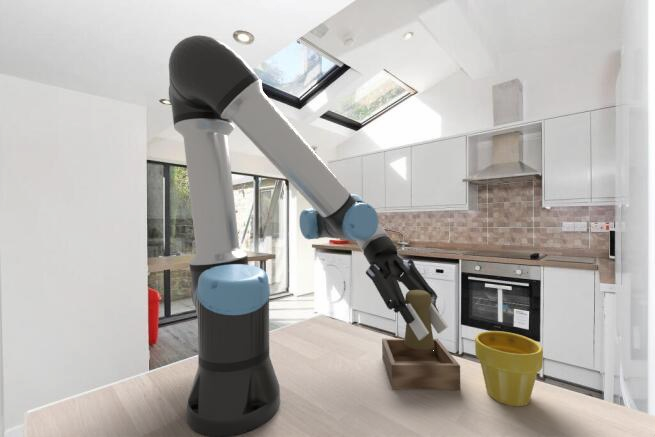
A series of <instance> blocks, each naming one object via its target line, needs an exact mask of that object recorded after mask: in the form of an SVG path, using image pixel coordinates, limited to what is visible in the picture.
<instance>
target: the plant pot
mask: <svg viewBox="0 0 655 437" xmlns="http://www.w3.org/2000/svg"><path fill="white" fill-rule="evenodd" d="M474 349H475V357H476V358H477V359H478V360H479V362H480V367H481V371H482V375H483V380H484V385H485V389H486V392H487V394H488V395H489V397H491V398H492V399H493V400H494V401H497V402H498V403H500V404H503V405H507V406H511V407H525V406H526V405H528V404H529V403H530V402H531V401H530V400H531V397H532V393H533V389H534V385H535V382H536V379H537V375H538V373H539V372H540V371H541V370H542V368H543V364H544V362H543V361H544V359H543V358H544V354H543V353H544V351H543V350H544V349H543V347H542V345H541V344H540V343H538V341H536V340H534V339H532V338H529V337H527V336H524V335H521V334H518V333H512V332H508V331H499V330H487V331H482V332H480V333H477V334H476V335H475V337H474Z"/></svg>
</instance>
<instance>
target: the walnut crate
mask: <svg viewBox="0 0 655 437" xmlns="http://www.w3.org/2000/svg"><path fill="white" fill-rule="evenodd" d="M404 340H405V338H381V342H382V343H381V345H382V346H381V347H382V348H381V350H382V352H381V353H382V354H381V355H382V357H381V358H382V361H383V364H384V368H385V371H386V374H387V377H388V382H389V383H390V387H391V389H392V390H426V391H427V390H431V391H432V390H434V391H435V390H449V391H453V390H454V391H461V365H460V363H458V361H457V360H456V359H455V357H454V356H453V355H452V353H451V352H450V351H449V350H448V349H447V348H446V347H445V346H444V344H443V343H442V342H441V341H440V340H439V338H433V341H434V347H433V348H431V349H427V350H418V349H413V348H410V347H408V346H406V345H405V344H404ZM433 350H434V351H433Z"/></svg>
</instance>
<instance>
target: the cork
mask: <svg viewBox="0 0 655 437" xmlns="http://www.w3.org/2000/svg"><path fill="white" fill-rule="evenodd" d="M404 298H405V301H406V305H407V304H411V305H412V307H413V308H414V310H415V311H416V313H417V315H418V316H419V318H420V319H421V321H422V322H423V324H424V325H425V327H426V329H427V330H428V332H429V334H427V335H426V336H425V337H424V338H423V339H422V340H418V338H417V337H416V335H415V333H414V332H413V330H412V328H411V327H410V325H409V324H407V323H406V322H405V323H406V325H405V334H404V339H405V340H404V344H405V345H406V346H408V347H410V348H413V349H418V350H427V349H431V348H433V347H434V341H433V339H434V337H433V336H434V335H433V328H432V327H433V326H432V324H431V321H430V314H429V306H430V305H431V301H432V297H431V296H430V294H429V293H428V292H426V291H423V290H411V291H409V290H408V291H407V292H406V293H405V296H404Z"/></svg>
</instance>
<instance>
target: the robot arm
mask: <svg viewBox="0 0 655 437" xmlns="http://www.w3.org/2000/svg"><path fill="white" fill-rule="evenodd" d="M168 60H169V61H168V73H169V86H168V99H169V103H170V104H171V112H172V121H173V128H174V130H175V131H176V132H177V133H179V134H180V135H181V136H182V138H183V144H184V146H183V147H184V153H185V154H184V155H185V161H186V171H187V173H186V174H187V179H188V189H189V198H190V207H191V208H190V209H191V215H192V224H193V235H194V244H195V255H194V256H193V257H191V259H190V260H189V270H190V281H191V291H190V295H191V300H192V303H193V306H194V309H195V312H196V316H197V335H198V336H197V342H198V343H197V344H198V345H197V347H198V348H197V350H198V352H197V353H198V360H197V361H198V364H197V365H198V366H197V370H196V373H195V376H194V380H193V383H192V385H191V390H190V392H189V395H188V399H187V402H186V420H187V423H188V425H189V426H190V428H191V429H192V430H193V431H195V432H197V433H198V434H201V435H205V436H211V437H229V436H236V435H239V434H243V433H246V432H249V431H252V430H254V429H256V428H258V427H260V426H262V425H263V424H264V423H266V422H267V421H268V420H270V419H271V418H272V417H273V416H274V415H275V414H276V412H277V410H278V409H279V407H280V404H281V388H280V384H279V381H278V378H277V375H276V372H275V371H276V370H275V369H274V366H273V363H272V360H271V357H270V294H271V287H270V284H269V276H268V274H267V273H266V271H265V270H264V269H262V268H260V267H257V266H254V265H252V266H251V265H249V259H248V258H249V256H248V253H247V252H245V251H244V250H243V249H241V247H240V242H239V232H238V222H237V214H236V204H235V203H236V202H235V196H234V195H235V194H234V186H233V176H232V166H231V158H230V148H229V139H228V137H229V135H230V134H231V133H232V132H233V131H234V129H235V125H236V127H237V128H239V129H240V131H241V132H242V133H243V134H244V135H245V136H246V137H247V138H248V139H249V141H251V142H252V144H253V145H254V146H255V147H256V148H257V149H258V150H259V151H260V152H261V153H262V154H263V155H264V156H265V157H266V159H267V160H268V161H269V162H270V164H272V165H273V166H274V167H275V168H276V169H277V170H278V172H280V174H282V175H283V177H285V179H286V180H287V181H288V182H289V183H290V184H291V185H292V186H293V187H294V188H295V189H296V191H298V193H299V194H300V195H301V196H302V197H303V198H304V199H305V200H306V201H307V202H308V203H309V204H310V206H312V207H310V208H306V209H302V211H301V212H300V214H299V223H298V224H299V228H300V232H301V234H302V237H303V238H305V239H306V240H318V239H322V238H324V239H325V238H327V239H338V240H339V239H340V240H348V241H352V242H356V243H357V245H358V247H359V249H360V251H361V252H362V253H363V255H364V258H365V259H366V260H367V262H368V264H369V265H370V266H368V268H367V269H366V271H365V274H366V275H367V277H368V278H370V280H372V282H373V285H374V286H375V288H376V290H377V292H378V293H379V295H380V297H381V299H382V300H383V302H384V304H385V306H386V307H387V309H388V310H393V312H394V313H396V314H397V313H399V314H400V315H401V316H402V319H403V320H404V322H405V323H407V324H409V325H410V327H411V328H412V330H413V332H414V333H415V335H416V337H417V338H418V340H422V339H423V338H424V337H425V336H426V335H427V334H429V332H428V330H427V329H426V327H425V325H424V324H423V322H422V321H421V319H420V318H419V316H418V315H417V313H416V311H415V310H414V308H413V307H412V305H411V304H406V301H405V296H404V294H403V291H402V289H401V286H400V284H399V283H402V285H403V286H404V287H406V289H407V290H408V291H411V290H423V291H426V292H428V293H429V294H430V296H431V298H432V297H434V295H435V291H434V290H433V289H432V288H431V286H430V284H429V283H428V282H427V281H426V279H425V278H424V277H423V275H422V274H421V273H420V271H419V270H418V268H417V267H416V265H415V261H414V260H412V259H409V260H408V261H406V260H404V259H403V258H402V257H400V256H399V255H398V248H397V246H396V244H395V243H394V241H393V240H392V239H391V238H390V236H389V235H388V234H389V233H387V231H386V230H385V228H384V227H383V225H382V224H381V223H380V222H379V216H378V212H377V211H376V209H375V208H374V207H373V206H372V205H370V204H368V203H367V202H365V201H364V199H363V198H362V197H361V196H360V195H358V194H353V193H352V194H351V193H350V192H349V191H348V190H347V188H346V187H345V185H343V184H342V183H341V181H340V180H339V179H338V177H336V175H335V174H334V173H333V172H332V171H331V169H329V167H328V166H327V165H326V163H325V162H324V161H323V160H322V159H321V157H319V155H317V153H316V152H315V151H314V150H313V148H312V147H311V146H310V145H309V144H308V143H307V142H306V140H305V139H304V138H303V137H302V136H301V135H300V134H299V132H298V131H297V130H296V128H295V127H294V126H292V124H291V122H289V120H288V119H287V118H286V117H285V116H284V114H283V113H282V112H281V111H280V110H279V109H278V107H277V106H276V105H275V104H274V103H273V101H271V99H270V98H269V97H268V96H267V95H266V93H265V92H264V91H263V86H262V85H263V84H262V83H263V82H262V80H261V79H260V77H259V76H258V75H257V74H256V72H254V70H253V69H252V68H251V67H250V66H249V64H248V63H247V62H246V61H245V59H243V58H242V57H241V56H240V55H239V54H238V53H236V52H235V51H234V50H233V49H232V48H231V47H229V46H228V45H227V44H225V43H224V42H222V41H221V40H218V39H216V38H214V37H211V36H207V35H200V34H199V35H192V36H188V37H185V38H184V39H181V40H180V41H178V43H177V44H176V45H175V46H174V48H173V49H172V51H171V53H170V55H169V58H168ZM234 124H235V125H234ZM429 314H430V321H431V326H432V327H433V329H434V330H435V331H436V333H437V334H441V333H442V332H444V331H445V330H446V329H447V328H449V326H448V324H447V322H446V321H445V320H444V318H443V317H442V315H441V314H440V312H439V309H438V307H437V306H436V305H435V304H434V302H433V300H431V305H430V306H429Z"/></svg>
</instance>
